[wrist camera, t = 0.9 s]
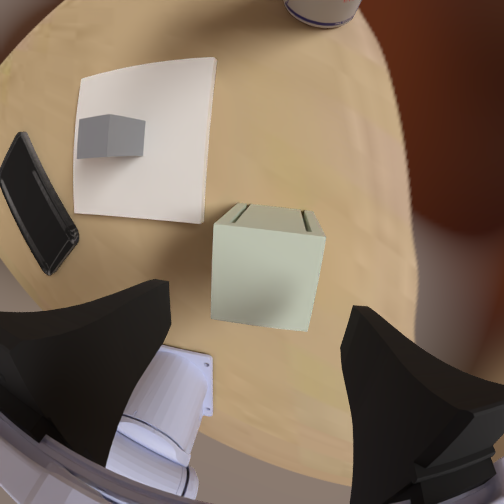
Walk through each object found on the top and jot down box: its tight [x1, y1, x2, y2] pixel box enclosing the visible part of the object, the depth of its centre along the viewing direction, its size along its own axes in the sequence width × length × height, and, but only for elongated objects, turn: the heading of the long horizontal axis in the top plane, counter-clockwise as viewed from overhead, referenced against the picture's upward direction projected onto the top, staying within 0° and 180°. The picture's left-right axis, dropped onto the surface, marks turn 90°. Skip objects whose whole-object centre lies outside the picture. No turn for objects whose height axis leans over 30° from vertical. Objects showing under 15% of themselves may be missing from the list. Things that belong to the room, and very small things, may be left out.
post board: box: [73, 57, 217, 224], centre depth 16 cm, size 12×12×5 cm
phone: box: [0, 132, 79, 275], centre depth 21 cm, size 8×1×15 cm
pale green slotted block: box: [211, 203, 326, 332], centre depth 16 cm, size 5×5×7 cm
